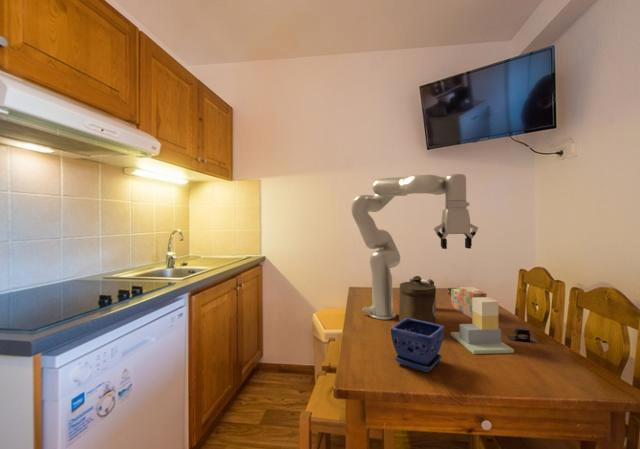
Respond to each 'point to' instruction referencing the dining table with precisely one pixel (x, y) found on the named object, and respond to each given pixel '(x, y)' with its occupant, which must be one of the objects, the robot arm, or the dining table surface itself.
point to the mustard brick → (485, 321)
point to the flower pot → (417, 343)
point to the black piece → (522, 338)
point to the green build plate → (483, 346)
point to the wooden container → (417, 301)
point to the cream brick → (485, 306)
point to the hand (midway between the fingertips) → (456, 248)
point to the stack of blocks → (465, 299)
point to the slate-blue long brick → (479, 334)
